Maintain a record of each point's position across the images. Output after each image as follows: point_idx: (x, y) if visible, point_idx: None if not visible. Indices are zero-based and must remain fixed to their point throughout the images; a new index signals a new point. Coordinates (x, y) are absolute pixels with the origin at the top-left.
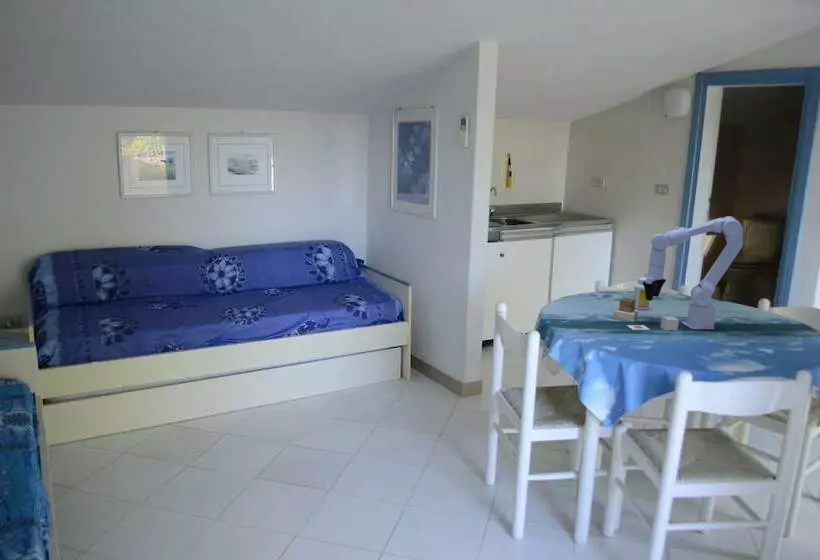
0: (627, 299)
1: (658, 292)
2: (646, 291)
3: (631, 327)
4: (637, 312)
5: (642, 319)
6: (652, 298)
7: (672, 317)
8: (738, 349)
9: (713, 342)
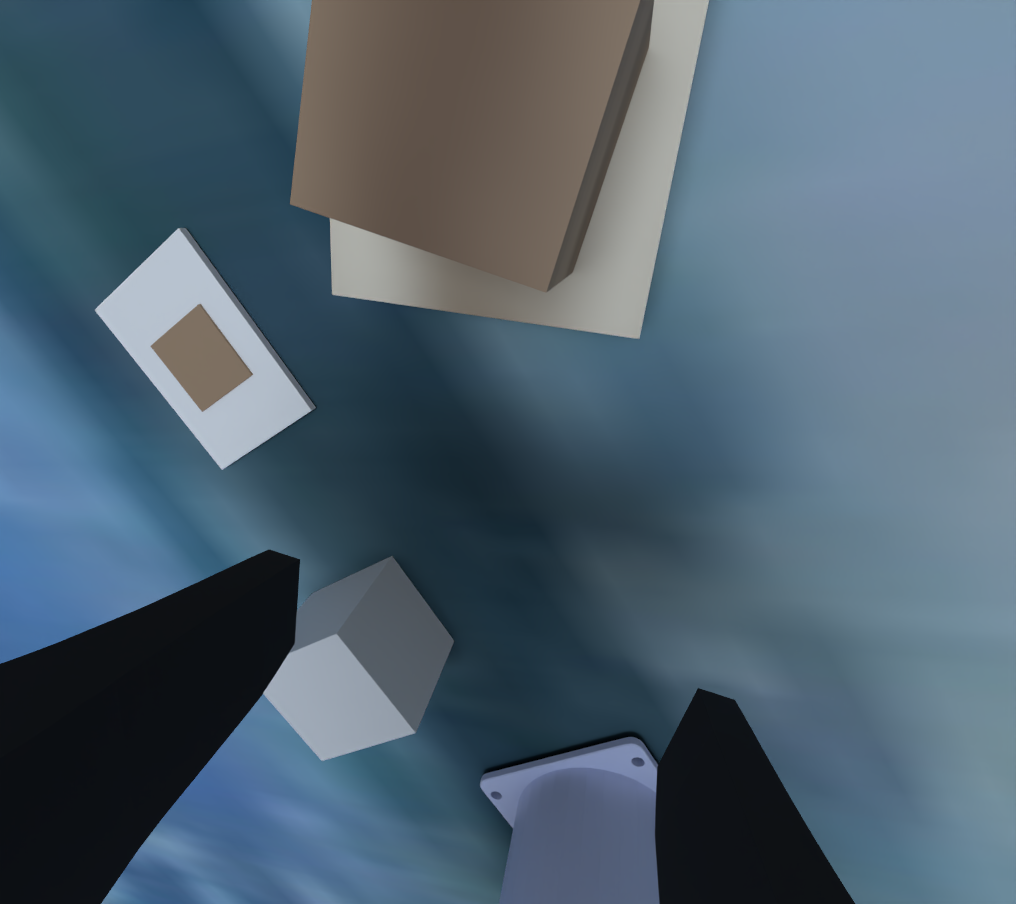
0: (455, 71)
1: (668, 888)
2: (65, 681)
3: (144, 293)
4: (559, 323)
5: (574, 381)
6: (255, 682)
7: (363, 722)
8: (244, 897)
9: (272, 824)
